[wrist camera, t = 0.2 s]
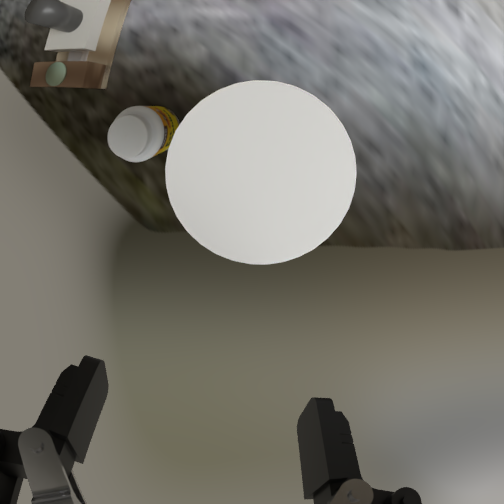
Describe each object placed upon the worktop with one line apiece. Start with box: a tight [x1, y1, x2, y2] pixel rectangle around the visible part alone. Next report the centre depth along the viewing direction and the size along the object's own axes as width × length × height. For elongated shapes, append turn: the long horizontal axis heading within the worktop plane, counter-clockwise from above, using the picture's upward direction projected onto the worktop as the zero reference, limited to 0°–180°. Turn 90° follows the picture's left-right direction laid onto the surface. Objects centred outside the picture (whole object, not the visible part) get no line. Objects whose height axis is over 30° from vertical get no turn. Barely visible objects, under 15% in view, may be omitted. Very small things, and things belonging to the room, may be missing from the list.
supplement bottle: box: [108, 106, 180, 162], centre depth 28 cm, size 6×6×10 cm
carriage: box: [25, 0, 111, 52], centre depth 19 cm, size 7×6×10 cm
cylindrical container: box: [165, 80, 356, 264], centre depth 22 cm, size 7×7×25 cm
